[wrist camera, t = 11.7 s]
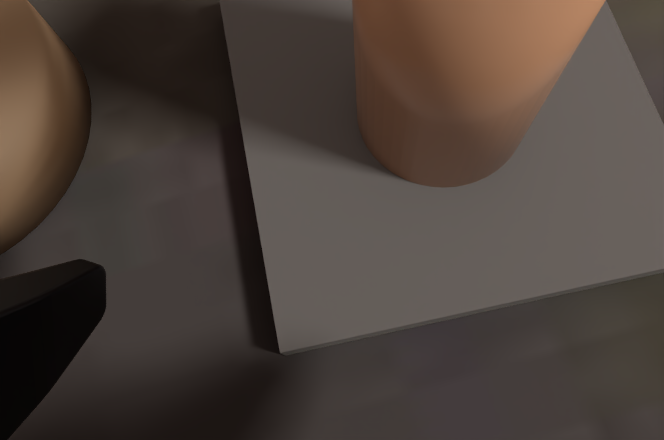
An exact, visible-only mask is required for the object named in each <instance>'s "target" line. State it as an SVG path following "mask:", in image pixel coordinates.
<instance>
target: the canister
mask: <svg viewBox="0 0 664 440" xmlns="http://www.w3.org/2000/svg"><path fill="white" fill-rule="evenodd" d="M605 1H606V0H352V12H353V35H354V59H355V82H356V105H357V121H358V126H359V130H360V133H361V136H362V138H363V140H364V142H365V144H366V146H367V148H368V149H369V151H370V152H371V153H372V155H373V156H374V157H375V158H376V159H377V160H378V161H379V162H380V163H381V164H382V165H383V166H384V167H385V168H387V169H388V170H389V171H391V172H392V173H394V174H396V175H397V176H399V177H401V178H403V179H405V180H408V181H410V182H413V183H416V184H420V185H424V186H430V187H442V188H444V187H457V186H462V185H467V184H470V183H474V182H477V181H479V180H481V179H483V178H486V177H488V176H489V175H491V174H492V173H494V172H496V171H497V170H498V169H499V168H501V167H502V166H503V165H504V164H505V163H506V162H507V161H508V160H509V159H510V158H511V156H512V155H513V154H514V152H515V151H516V149H517V148H518V146H519V144H520V143H521V141H522V139H523V138H524V136H525V134H526V133H527V131H528V129H529V128H530V126H531V124H532V122H533V121H534V119H535V117H536V116H537V114H538V112H539V111H540V109H541V107H542V106H543V104H544V102H545V101H546V99H547V97H548V96H549V94H550V92H551V91H552V89H553V87H554V86H555V84H556V82H557V81H558V79H559V77H560V76H561V74H562V72H563V71H564V69H565V67H566V66H567V64H568V62H569V61H570V59H571V57H572V56H573V54H574V52H575V51H576V49H577V47H578V46H579V44H580V42H581V41H582V39H583V37H584V36H585V34H586V32H587V31H588V29H589V27H590V26H591V24H592V22H593V21H594V19H595V17H596V16H597V14H598V12H599V11H600V9H601V7H602V6H603V4H604V2H605Z"/></svg>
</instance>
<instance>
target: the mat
mask: <svg viewBox="0 0 664 440" xmlns="http://www.w3.org/2000/svg"><path fill="white" fill-rule="evenodd" d="M219 2H220V8H221V14H222V19H223V25H224V31H225V37H226V43H227V48H228V54H229V60H230V66H231V72H232V77H233V83H234V89H235V95H236V101H237V107H238V112H239V118H240V124H241V130H242V136H243V141H244V147H245V153H246V159H247V165H248V170H249V176H250V182H251V188H252V194H253V200H254V205H255V211H256V217H257V223H258V229H259V234H260V240H261V246H262V252H263V258H264V263H265V269H266V275H267V281H268V287H269V293H270V298H271V304H272V310H273V316H274V322H275V327H276V333H277V339H278V345H279V351H280V353H281V354H283V355H285V356H286V355H291V354H295V353H300V352H305V351H309V350H314V349H318V348H323V347H327V346H332V345H336V344H341V343H345V342H350V341H355V340H359V339H364V338H368V337H373V336H377V335H382V334H386V333H391V332H395V331H400V330H405V329H409V328H414V327H418V326H423V325H427V324H432V323H436V322H441V321H445V320H450V319H455V318H459V317H464V316H468V315H473V314H477V313H482V312H486V311H491V310H495V309H500V308H505V307H509V306H514V305H518V304H523V303H527V302H532V301H536V300H541V299H545V298H550V297H555V296H559V295H564V294H568V293H573V292H577V291H582V290H586V289H591V288H596V287H600V286H605V285H609V284H614V283H618V282H623V281H627V280H632V279H636V278H641V277H646V276H650V275H655V274H659V273H664V125H663V123H662V120H661V118H660V116H659V114H658V112H657V110H656V107H655V105H654V103H653V101H652V99H651V97H650V94H649V92H648V90H647V88H646V86H645V84H644V81H643V79H642V77H641V75H640V73H639V71H638V68H637V66H636V64H635V62H634V60H633V58H632V55H631V53H630V51H629V49H628V47H627V45H626V42H625V40H624V38H623V36H622V34H621V32H620V29H619V27H618V25H617V23H616V21H615V19H614V16H613V14H612V12H611V10H610V8H609V6H608V3H607V1H605V2H604V4H603V6H602V7H601V9H600V11H599V12H598V14H597V16H596V17H595V19H594V21H593V22H592V24H591V26H590V27H589V29H588V31H587V32H586V34H585V36H584V37H583V39H582V41H581V42H580V44H579V46H578V47H577V49H576V51H575V52H574V54H573V56H572V57H571V59H570V61H569V62H568V64H567V66H566V67H565V69H564V71H563V72H562V74H561V76H560V77H559V79H558V81H557V82H556V84H555V86H554V87H553V89H552V91H551V92H550V94H549V96H548V97H547V99H546V101H545V102H544V104H543V106H542V107H541V109H540V111H539V112H538V114H537V116H536V117H535V119H534V121H533V122H532V124H531V126H530V128H529V129H528V131H527V133H526V134H525V136H524V138H523V139H522V141H521V143H520V144H519V146H518V148H517V149H516V151H515V152H514V154H513V155H512V156H511V158H510V159H509V160H508V161H507V162H506V163H505V164H504V165H503V166H502V167H501V168H499V169H498V170H497V171H496V172H494V173H492V174H491V175H489V176H488V177H486V178H483V179H481V180H479V181H477V182H474V183H470V184H467V185H462V186H457V187H444V188H442V187H430V186H424V185H420V184H416V183H413V182H410V181H408V180H405V179H403V178H401V177H399V176H397V175H396V174H394V173H392V172H391V171H389V170H388V169H387V168H385V167H384V166H383V165H382V164H381V163H380V162H379V161H378V160H377V159H376V158H375V157H374V156H373V155H372V153H371V152H370V151H369V149H368V148H367V146H366V144H365V142H364V140H363V138H362V136H361V133H360V130H359V126H358V121H357V105H356V82H355V59H354V35H353V12H352V0H219Z"/></svg>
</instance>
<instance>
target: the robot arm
mask: <svg viewBox="0 0 664 440" xmlns="http://www.w3.org/2000/svg"><path fill="white" fill-rule="evenodd" d="M105 309H106V272H105V269H104V268H103V267H102V266H101V265H99V264H96V263H93V262H90V261H87V260H83V259H78V260H73V261H70V262H66V263H62V264H58V265H54V266H50V267H46V268H43V269H39V270H35V271H31V272H27V273H23V274H19V275H16V276H12V277H8V278H4V279H0V440H7V439H8V438H9V437H10V436H11V435H12V434H13V433H14V432H15V430H16V429H17V428H18V427H19V426H20V425H21V424H22V422H23V421H24V420H25V419H26V418H27V417H28V416H29V415H30V413H31V412H32V411H33V410H34V409H35V408H36V407H37V405H38V404H39V403H40V402H41V401H42V399H43V398H44V397H45V396H46V395H47V394H48V392H49V391H50V390H51V388H52V387H53V386H54V384H55V383H56V382H57V380H58V379H59V378H60V376H61V375H62V373H63V372H64V371H65V369H66V368H67V366H68V365H69V364H70V362H71V361H72V360H73V358H74V357H75V355H76V354H77V353H78V351H79V350H80V348H81V347H82V346H83V344H84V343H85V341H86V340H87V339H88V337H89V336H90V334H91V333H92V332H93V330H94V329H95V327H96V326H97V325H98V323H99V322H100V320H101V319H102V317H103V315H104V312H105Z"/></svg>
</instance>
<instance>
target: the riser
mask: <svg viewBox="0 0 664 440" xmlns="http://www.w3.org/2000/svg"><path fill="white" fill-rule="evenodd" d="M90 126H91V99H90V93H89V87H88V84H87V81H86V78H85V74H84V72H83V70H82V68H81V66H80V64H79V62H78V60H77V59H76V57H75V56H74V55H73V53H72V52H71V50H70V49H69V48H68V47H67V45H66V44H65V43H64V42H63V41H62V40H61V38H60V37H59V36H58V35H57V34H56V33H55V31H54V30H53V29H52V28H51V27H50V26H49V25H48V23H47V22H46V21H45V20H44V19H43V18H42V16H41V15H40V14H39V13H38V12H37V11H36V10H35V8H34V7H33V6H32V5H31V4H30V3H29V1H28V0H0V255H1V254H2V253H4V252H5V251H7V250H8V249H10V248H11V247H13V246H14V245H15V244H17V243H18V242H20V241H21V240H22V239H23V238H25V237H26V236H27V235H28V234H29V233H30V232H31V231H33V230H34V229H35V228H36V227H37V226H38V225H39V224H40V223H41V222H42V221H43V220H44V219H45V218H46V217H47V216H48V214H49V213H50V212H51V211H52V210H53V209H54V207H55V206H56V205H57V203H58V202H59V201H60V199H61V198H62V197H63V195H64V194H65V193H66V191H67V189H68V187H69V186H70V184H71V182H72V180H73V179H74V177H75V175H76V173H77V171H78V168H79V166H80V164H81V161H82V159H83V157H84V153H85V150H86V146H87V143H88V139H89V133H90Z"/></svg>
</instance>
